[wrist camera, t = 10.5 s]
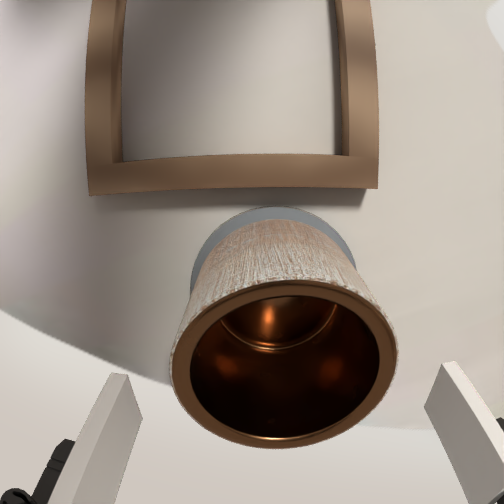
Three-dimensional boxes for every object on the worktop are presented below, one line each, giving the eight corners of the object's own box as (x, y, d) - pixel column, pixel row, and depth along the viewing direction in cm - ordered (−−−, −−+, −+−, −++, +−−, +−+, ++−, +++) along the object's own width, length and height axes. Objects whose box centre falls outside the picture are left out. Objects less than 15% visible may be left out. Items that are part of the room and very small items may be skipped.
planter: (177, 239, 21) (126, 308, 12) (336, 198, 20) (395, 242, 11) (225, 365, 25) (213, 461, 16) (358, 334, 24) (399, 422, 15)
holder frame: (108, -32, 15) (99, -41, 13) (353, -46, 15) (359, -57, 13) (100, 191, 21) (89, 196, 19) (368, 185, 21) (377, 188, 19)
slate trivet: (186, 207, 22) (184, 209, 21) (360, 206, 21) (364, 208, 21) (200, 353, 25) (199, 359, 25) (345, 350, 25) (347, 356, 24)
